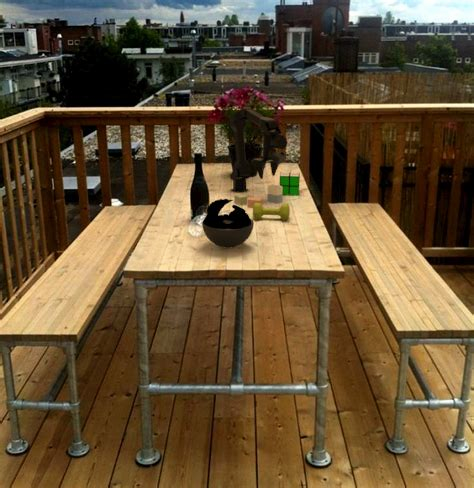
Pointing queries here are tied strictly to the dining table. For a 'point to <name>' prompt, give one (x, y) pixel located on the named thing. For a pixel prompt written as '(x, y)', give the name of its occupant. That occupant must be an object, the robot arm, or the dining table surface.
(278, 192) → the cream brick
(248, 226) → the black hollow round piece
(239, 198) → the olive brick
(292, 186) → the puzzle cube
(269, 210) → the dumbbell
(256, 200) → the terracotta brick
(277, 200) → the slate-blue brick
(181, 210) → the dining table surface
